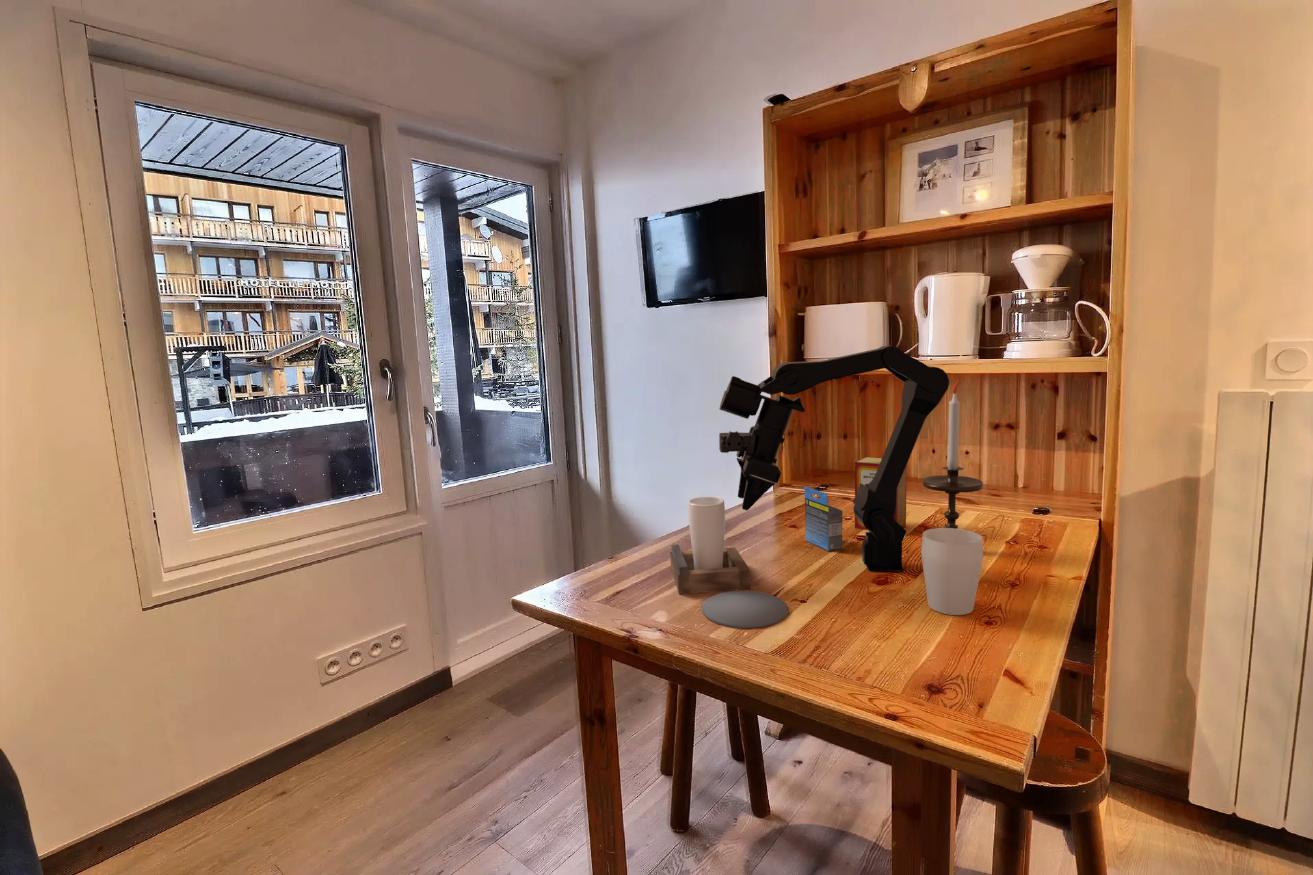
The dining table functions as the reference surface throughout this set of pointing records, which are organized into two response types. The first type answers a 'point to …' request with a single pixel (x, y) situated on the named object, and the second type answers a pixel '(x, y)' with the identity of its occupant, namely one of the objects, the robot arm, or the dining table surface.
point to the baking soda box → (865, 475)
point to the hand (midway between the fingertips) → (742, 503)
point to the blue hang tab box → (822, 521)
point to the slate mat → (744, 609)
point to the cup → (951, 569)
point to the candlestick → (953, 468)
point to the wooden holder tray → (709, 572)
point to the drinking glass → (707, 531)
